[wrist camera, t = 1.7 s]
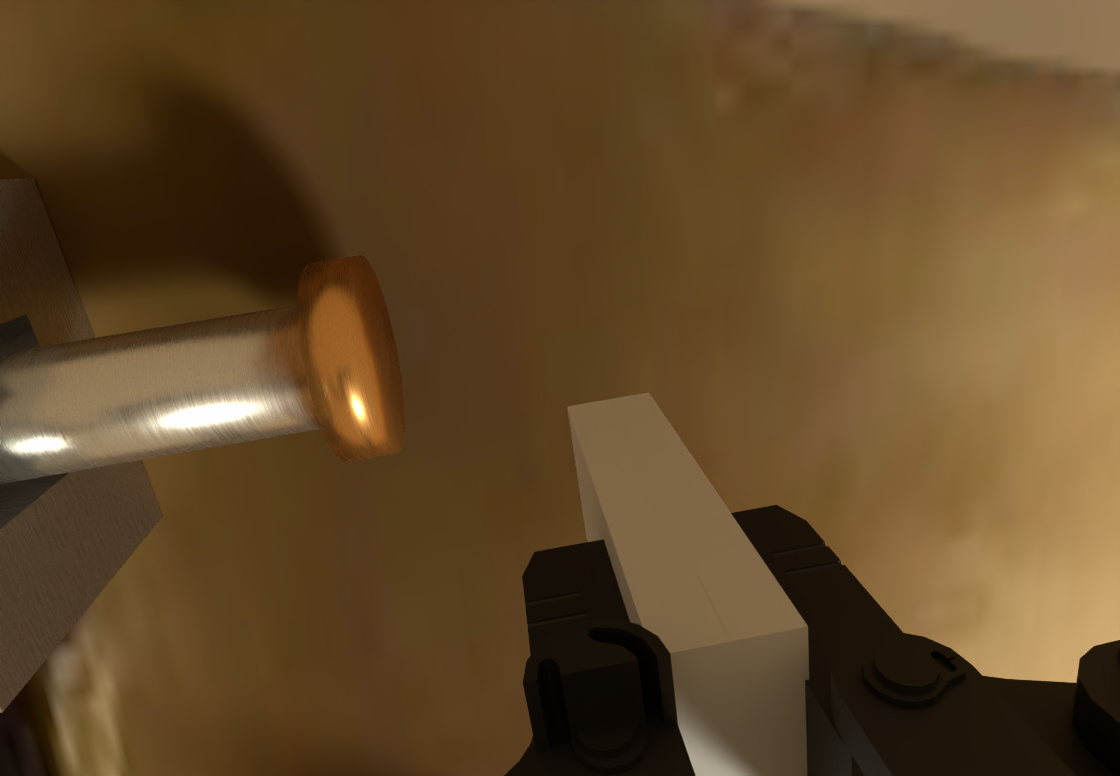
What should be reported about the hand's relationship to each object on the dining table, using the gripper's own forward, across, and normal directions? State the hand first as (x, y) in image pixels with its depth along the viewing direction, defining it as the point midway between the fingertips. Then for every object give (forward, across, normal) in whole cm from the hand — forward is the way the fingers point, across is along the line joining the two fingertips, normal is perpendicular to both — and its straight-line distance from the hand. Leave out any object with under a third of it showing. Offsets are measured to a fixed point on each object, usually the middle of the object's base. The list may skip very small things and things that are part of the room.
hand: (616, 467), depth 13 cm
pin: (+14, -14, 0) cm, 20 cm away
